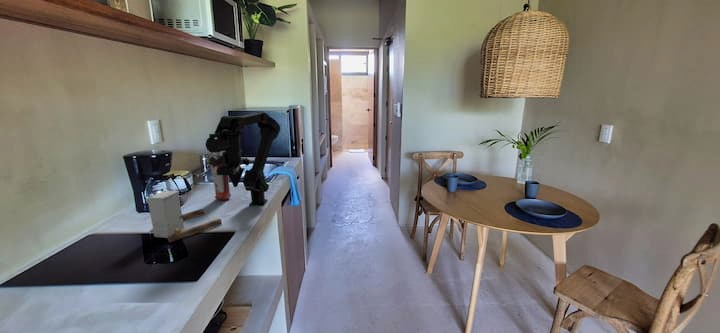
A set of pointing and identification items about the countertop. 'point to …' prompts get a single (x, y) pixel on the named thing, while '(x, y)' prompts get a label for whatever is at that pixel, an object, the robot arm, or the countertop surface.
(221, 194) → the red white cylinder
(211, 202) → the countertop surface
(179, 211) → the skincare box
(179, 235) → the guide track
